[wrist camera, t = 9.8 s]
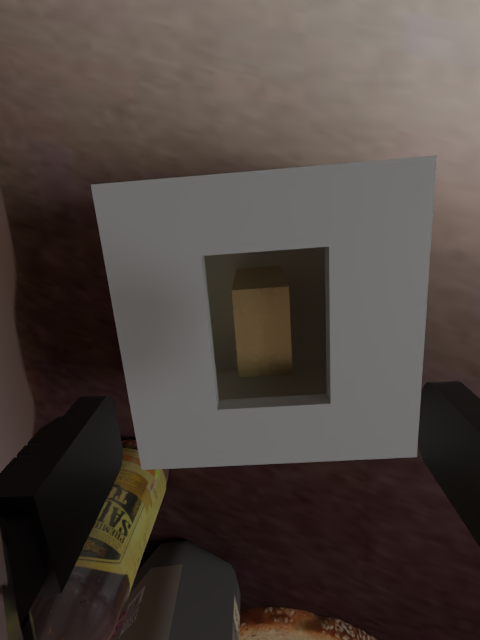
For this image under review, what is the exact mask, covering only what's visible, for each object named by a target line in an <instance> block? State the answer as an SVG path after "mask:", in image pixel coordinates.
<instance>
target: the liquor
mask: <svg viewBox="0 0 480 640" xmlns="http://www.w3.org/2000/svg"><path fill="white" fill-rule="evenodd" d="M239 626H240V590H239V586H238V582H237V578H236V573H235V571H234V569H233V567H232V565H231V564H230V563H228V562H226V561H224V560H222V559H221V558H219V557H217V556H215V555H214V554H212V553H210V552H208V551H206V550H205V549H203V548H201V547H199V546H197V545H196V544H194V543H192V542H190V541H189V540H185V541H177V542H168V543H162V544H161V545H160V546H159V547H158V548H157V549H156V550H155V551H154V552H153V553H152V555H151V556H150V557H149V558H148V560H147V561H146V562H145V563H144V564H143V566H142V567H141V568H140V569H139V571H138V572H137V573H136V576H135V579H134V582H133V585H132V588H131V590H130V593H129V596H128V599H127V600H126V602H125V604H124V605H123V607H122V609H121V612H120V615H119V619H118V621H117V624H116V627H115V630H114V633H113V635H112V637H111V639H110V640H239Z"/></svg>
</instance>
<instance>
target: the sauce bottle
mask: <svg viewBox="0 0 480 640" xmlns="http://www.w3.org/2000/svg"><path fill="white" fill-rule="evenodd" d="M122 447H123V459H122V465H121V469H120V472H119V474H118V476H117V478H116V480H115V482H114V484H113V486H112V489H111V491H110V493H109V495H108V497H107V499H106V501H105V503H104V505H103V507H102V510H101V512H100V514H99V516H98V518H97V520H96V522H95V524H94V526H93V528H92V531H91V533H90V535H89V537H88V539H87V541H86V543H85V545H84V547H83V549H82V551H81V554H80V556H79V558H78V560H77V562H76V564H75V566H74V568H73V570H72V572H71V575H70V577H69V579H68V581H67V583H66V585H65V587H64V589H63V591H62V593H61V594H38V595H37V597H36V599H35V601H34V603H33V605H32V606H31V608H30V612H31V615H32V618H33V623H34V628H35V633H36V638H37V640H110V639H111V637H112V635H113V633H114V630H115V627H116V624H117V621H118V619H119V615H120V612H121V609H122V607H123V605H124V604H125V602H126V600H127V599H128V596H129V593H130V590H131V588H132V585H133V582H134V579H135V576H136V573H137V570H138V567H139V565H140V562H141V559H142V556H143V553H144V550H145V547H146V544H147V542H148V539H149V536H150V533H151V530H152V528H153V525H154V522H155V519H156V517H157V514H158V511H159V508H160V505H161V502H162V500H163V497H164V494H165V490H166V483H167V479H168V474H169V471H168V469H151V470H142V469H141V464H140V458H139V453H138V447H137V441H136V440H133V439H128V440H123V441H122Z"/></svg>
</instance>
